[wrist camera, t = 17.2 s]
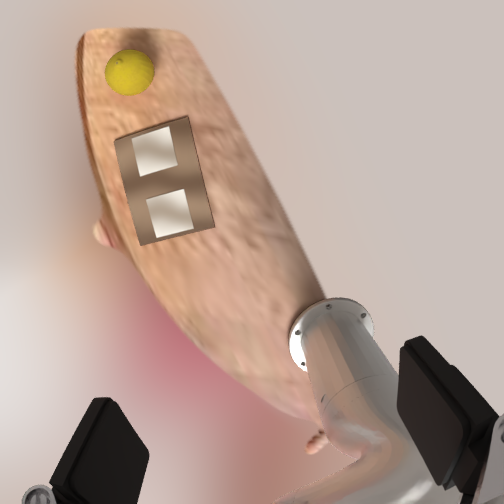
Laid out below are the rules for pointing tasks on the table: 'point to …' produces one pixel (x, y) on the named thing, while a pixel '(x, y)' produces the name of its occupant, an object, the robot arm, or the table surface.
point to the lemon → (129, 72)
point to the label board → (163, 182)
